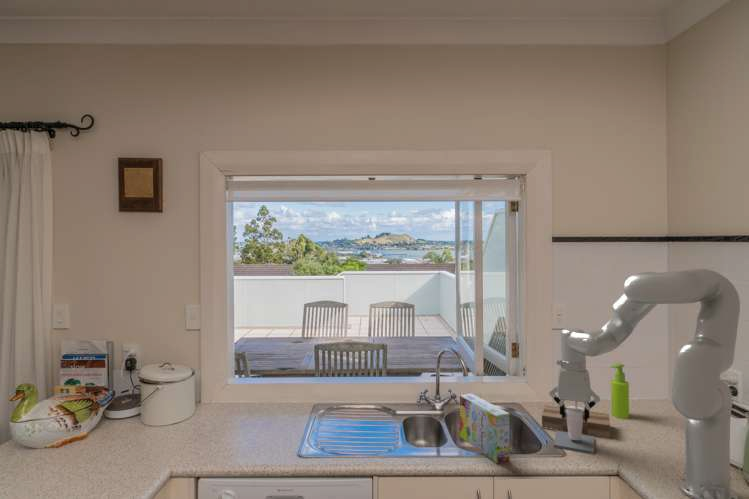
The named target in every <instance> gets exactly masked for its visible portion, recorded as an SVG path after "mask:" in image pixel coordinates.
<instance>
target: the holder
mask: <svg viewBox="0 0 749 499" xmlns="http://www.w3.org/2000/svg"><path fill="white" fill-rule="evenodd" d="M542 427H547V428H552V429H551V430H553V429H557V430H556V431H559V430H563V431H562V432H566V431H568V427H567V420H566V413H565V417H564V419H563V418H562V415H560V406H552V405H547V404H546V405H544V406H543V410H542V415H541V428H542ZM547 428H546V429H547ZM581 435H587V436H594V437H598V438H599V437H600V438H604V439H605V438H606V439H611V422H610V414H609V413H605V412H604V413H603V412H598V411H597V412H596V411H590V410H589V419H588V418H587V422H585V414H584V417H583V426H582V434H581Z"/></svg>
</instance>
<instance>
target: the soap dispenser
mask: <svg viewBox="0 0 749 499" xmlns="http://www.w3.org/2000/svg"><path fill="white" fill-rule="evenodd" d="M610 367H611V368H614V369H617V370H616V371H615V372H614V379H613V380H611V383H610V384H611V386H610V387H611V388H610V389H611V415H612V417H614V418H617V419H629V418H630V383H629V382H628V381H626V373H625V372H623V368H624V367H625V364H622V363H615V364H612V365H611V366H610Z"/></svg>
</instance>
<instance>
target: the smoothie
mask: <svg viewBox="0 0 749 499" xmlns="http://www.w3.org/2000/svg"><path fill="white" fill-rule="evenodd" d="M574 404H575V405H566V406H565V408H564V412H565V413H566V420H567V427H568V434H569V438H570V439H572V440H581V435H583V434H582V426H583V417H584V414H585V408H583V407H580V406H578V402H577V401H574Z"/></svg>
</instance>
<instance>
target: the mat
mask: <svg viewBox="0 0 749 499" xmlns="http://www.w3.org/2000/svg"><path fill="white" fill-rule="evenodd" d="M553 448H558V449H561V450H562V449H563V450H569V451H575V452H580V453H586V454H592V455H595V436H591V435H585V434H581V440H572V439H570V438H569V434H568V432H566V431H559V430H555V437H554V442H553Z"/></svg>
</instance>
